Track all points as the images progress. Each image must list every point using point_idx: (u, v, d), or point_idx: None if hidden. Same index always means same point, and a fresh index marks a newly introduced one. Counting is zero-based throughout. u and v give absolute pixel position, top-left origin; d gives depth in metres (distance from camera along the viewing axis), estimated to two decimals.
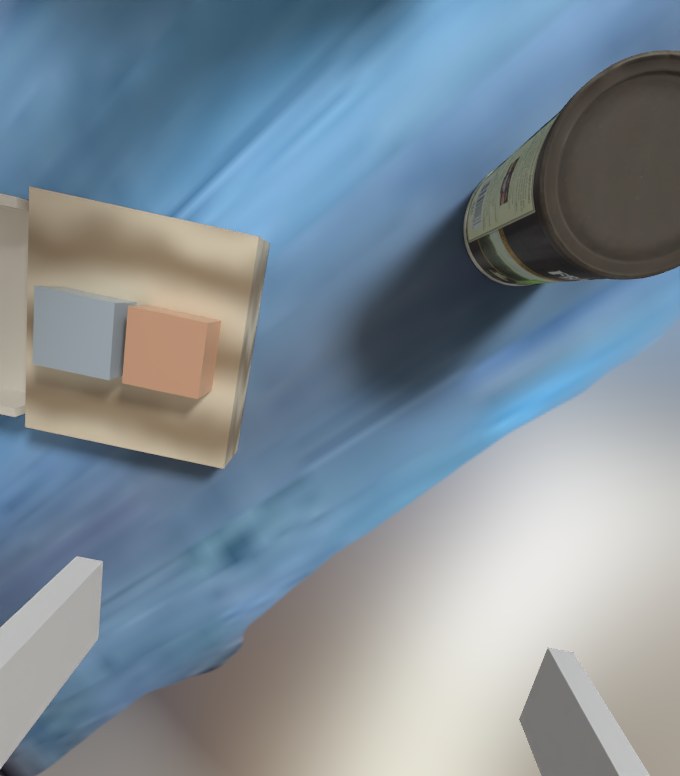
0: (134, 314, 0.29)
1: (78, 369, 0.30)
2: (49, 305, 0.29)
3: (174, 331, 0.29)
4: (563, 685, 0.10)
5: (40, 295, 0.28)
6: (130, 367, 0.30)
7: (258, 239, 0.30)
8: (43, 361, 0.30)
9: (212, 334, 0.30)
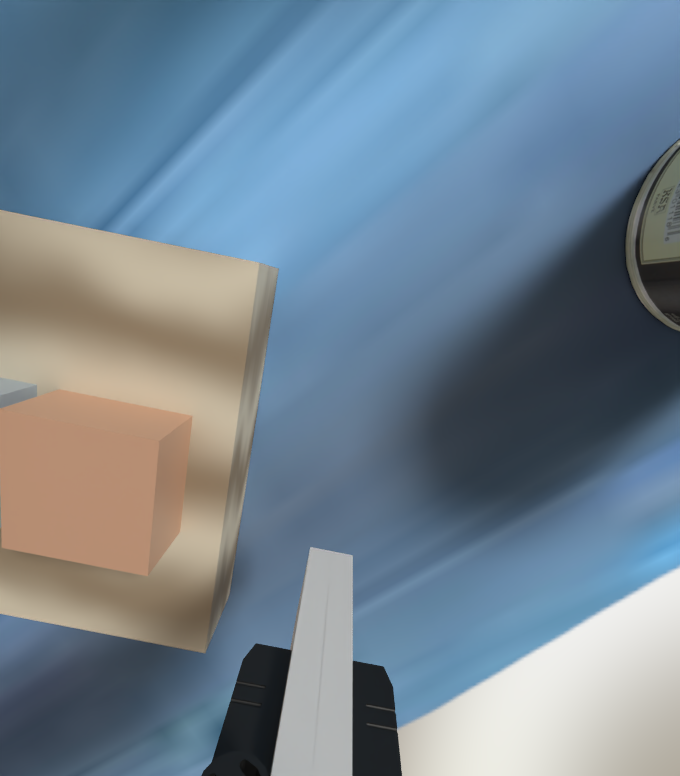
0: (12, 425, 0.14)
1: None
2: None
3: (94, 457, 0.14)
4: (328, 574, 0.12)
5: None
6: (14, 521, 0.15)
7: (258, 268, 0.16)
8: None
9: (173, 451, 0.16)
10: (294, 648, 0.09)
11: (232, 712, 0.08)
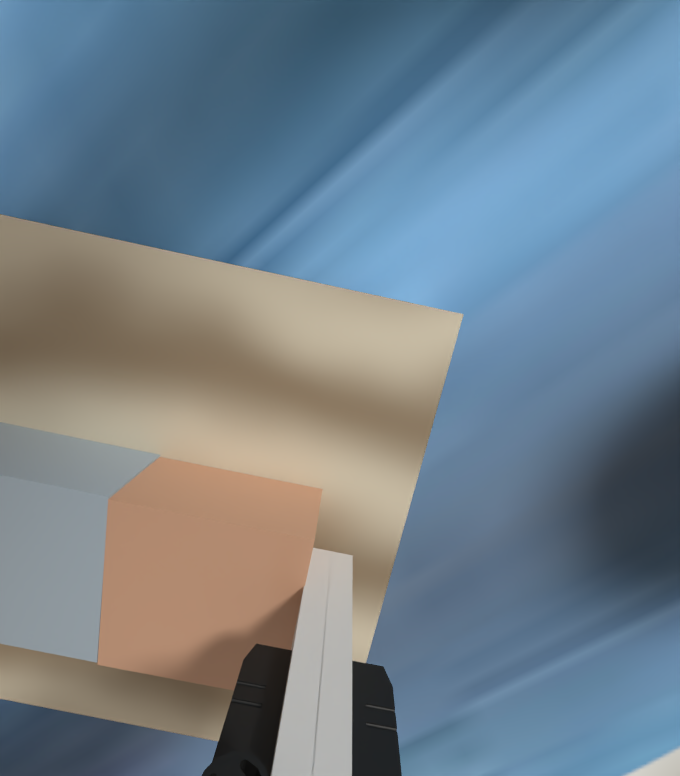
0: (125, 519, 0.11)
1: (21, 639, 0.12)
2: None
3: (227, 558, 0.11)
4: (328, 574, 0.12)
5: None
6: (117, 634, 0.12)
7: (460, 320, 0.13)
8: None
9: None
10: (294, 648, 0.09)
11: (232, 712, 0.08)
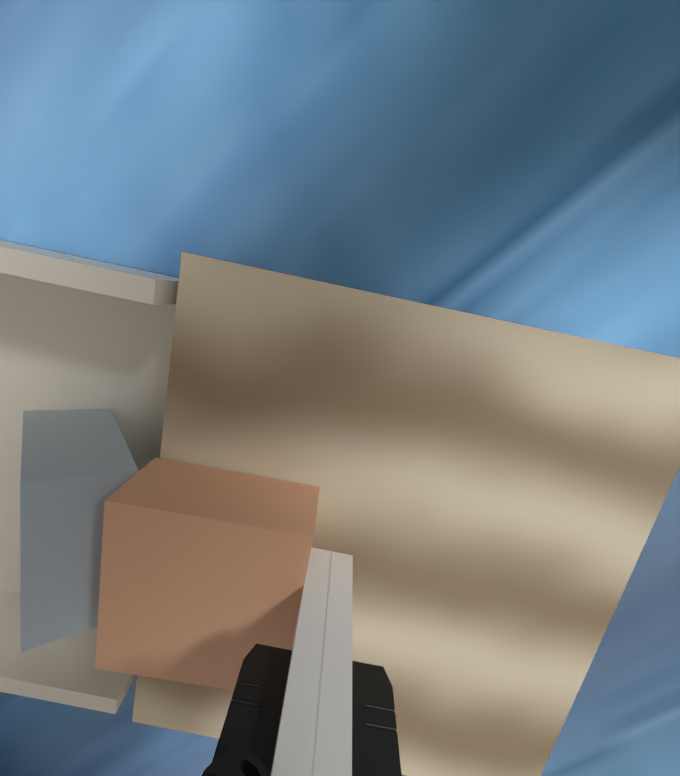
0: (122, 520, 0.11)
1: None
2: None
3: (226, 557, 0.11)
4: (328, 575, 0.12)
5: None
6: (115, 637, 0.12)
7: None
8: None
9: None
10: (294, 648, 0.09)
11: (232, 712, 0.08)
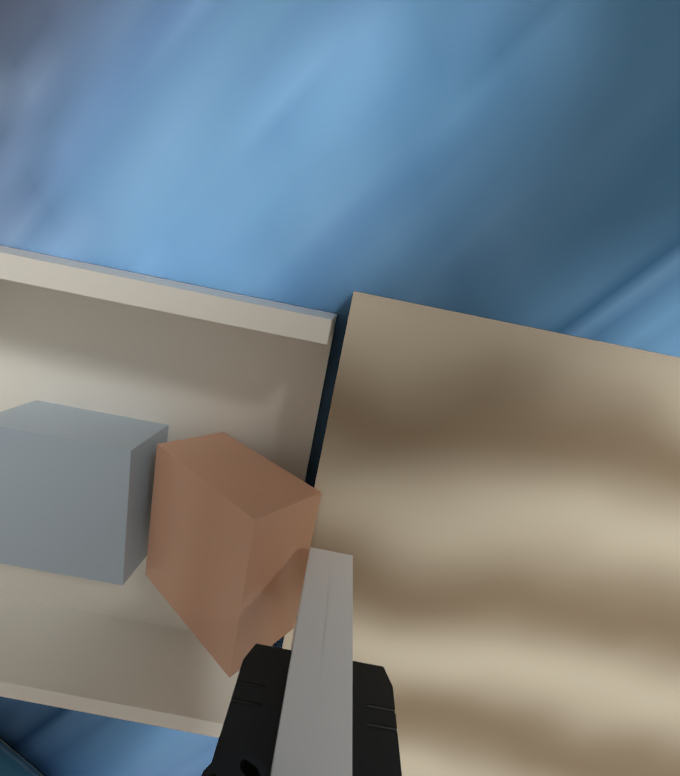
0: (162, 461, 0.15)
1: None
2: None
3: (205, 515, 0.13)
4: (328, 575, 0.12)
5: None
6: (154, 554, 0.16)
7: None
8: None
9: (282, 532, 0.13)
10: (294, 648, 0.09)
11: (232, 712, 0.08)
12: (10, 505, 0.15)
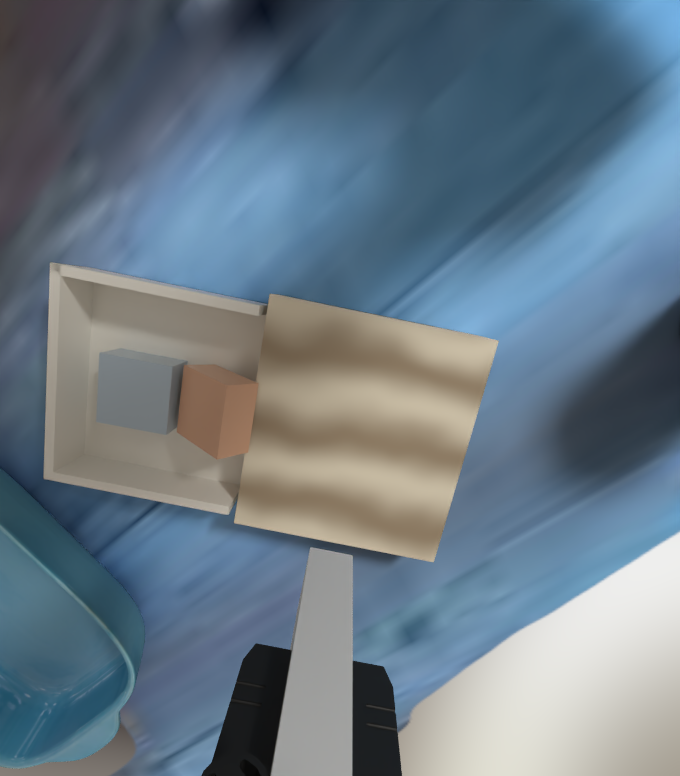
0: (186, 372, 0.32)
1: None
2: None
3: (206, 391, 0.30)
4: (328, 575, 0.12)
5: None
6: (181, 419, 0.33)
7: (497, 343, 0.30)
8: None
9: (239, 396, 0.30)
10: (294, 648, 0.09)
11: (232, 712, 0.08)
12: (114, 393, 0.32)
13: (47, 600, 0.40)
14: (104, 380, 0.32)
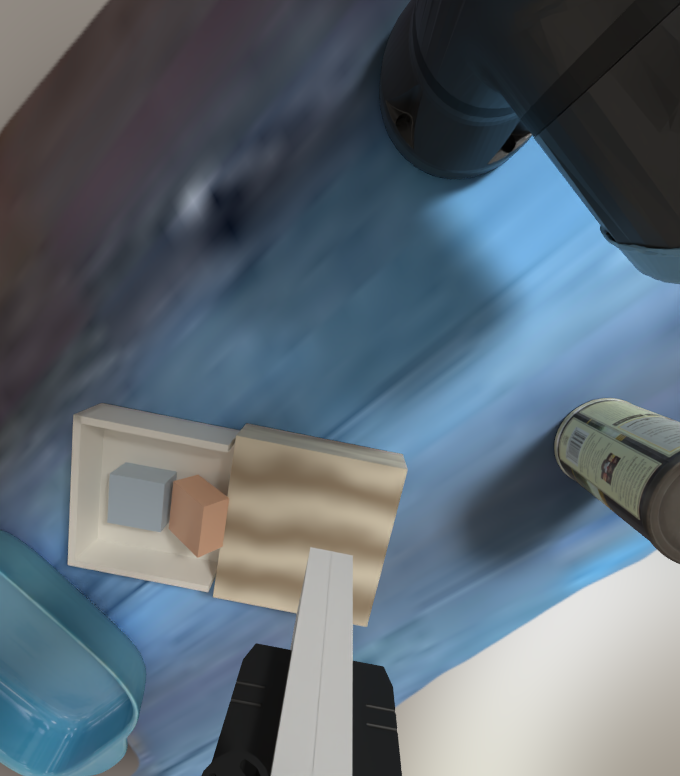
0: (175, 487, 0.42)
1: None
2: None
3: (190, 506, 0.40)
4: (328, 574, 0.12)
5: None
6: (172, 520, 0.43)
7: (406, 471, 0.40)
8: None
9: (214, 511, 0.40)
10: (294, 648, 0.09)
11: (232, 712, 0.08)
12: (121, 502, 0.42)
13: (68, 648, 0.51)
14: (113, 493, 0.42)
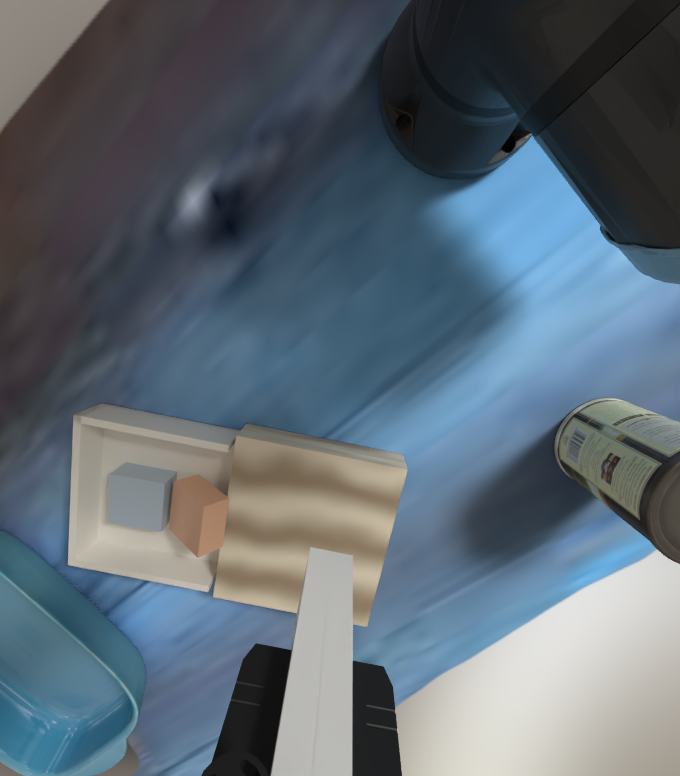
0: (175, 487, 0.42)
1: None
2: None
3: (190, 506, 0.40)
4: (328, 575, 0.12)
5: None
6: (172, 520, 0.43)
7: (406, 470, 0.40)
8: None
9: (214, 511, 0.40)
10: (294, 648, 0.09)
11: (232, 712, 0.08)
12: (121, 502, 0.42)
13: (69, 647, 0.51)
14: (113, 493, 0.42)
